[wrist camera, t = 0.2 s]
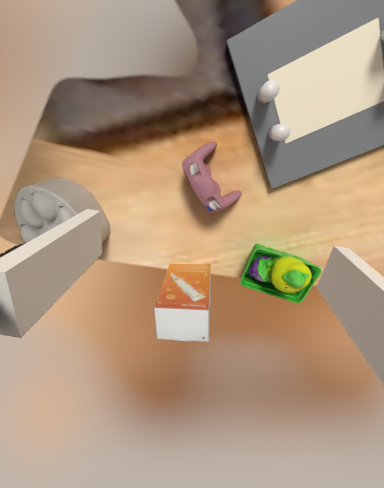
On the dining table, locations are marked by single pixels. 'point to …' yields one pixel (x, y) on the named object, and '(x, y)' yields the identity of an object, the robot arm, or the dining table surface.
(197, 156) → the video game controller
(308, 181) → the dining table surface
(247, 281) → the fruit basket
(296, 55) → the docking tray
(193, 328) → the small box
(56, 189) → the lumpy-topped squat cylinder
